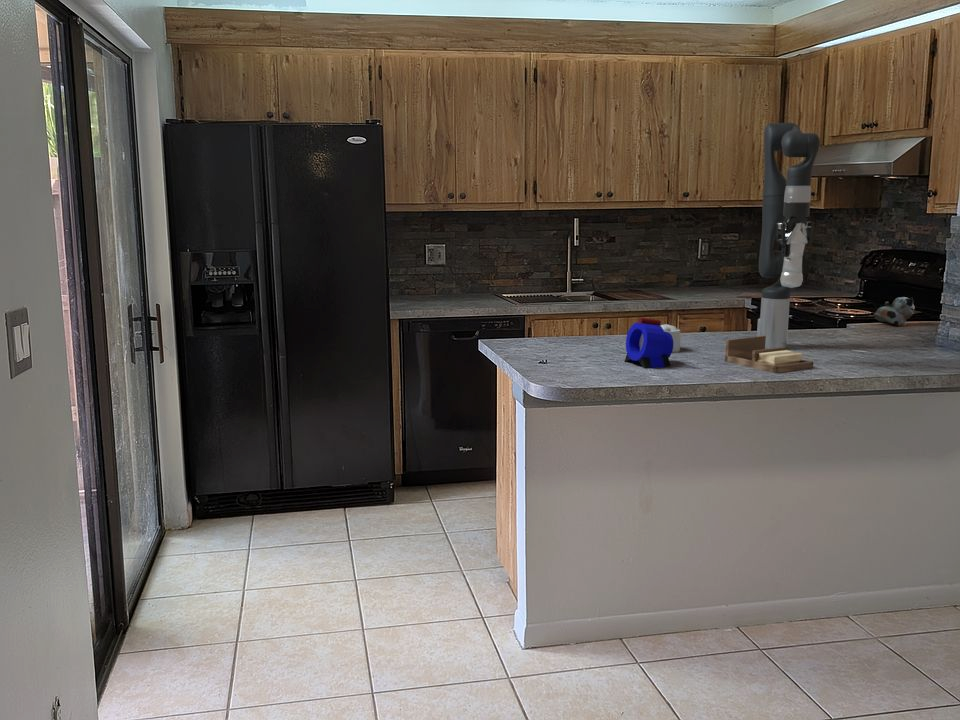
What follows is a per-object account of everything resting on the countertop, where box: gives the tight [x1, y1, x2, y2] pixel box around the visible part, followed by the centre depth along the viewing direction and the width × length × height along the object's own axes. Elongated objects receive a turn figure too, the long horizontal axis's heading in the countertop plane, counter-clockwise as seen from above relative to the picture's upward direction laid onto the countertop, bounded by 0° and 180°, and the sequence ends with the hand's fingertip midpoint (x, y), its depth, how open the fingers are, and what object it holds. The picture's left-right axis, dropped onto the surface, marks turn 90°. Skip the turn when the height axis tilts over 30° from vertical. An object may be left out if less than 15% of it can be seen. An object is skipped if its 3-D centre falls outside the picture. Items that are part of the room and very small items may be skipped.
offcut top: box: [758, 349, 803, 363], centre depth 264 cm, size 6×11×2 cm, turn 116°
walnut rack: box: [724, 335, 814, 374], centre depth 268 cm, size 20×16×8 cm
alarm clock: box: [624, 316, 674, 370], centre depth 274 cm, size 12×12×15 cm
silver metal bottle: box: [780, 222, 806, 289], centre depth 270 cm, size 6×7×20 cm
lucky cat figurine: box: [873, 296, 916, 327], centre depth 354 cm, size 15×12×14 cm
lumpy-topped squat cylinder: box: [660, 323, 681, 353], centre depth 298 cm, size 10×13×9 cm
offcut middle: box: [757, 360, 800, 366], centre depth 265 cm, size 6×11×2 cm, turn 121°
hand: (793, 256), depth 270 cm, fingers closed on silver metal bottle, 6 cm apart
